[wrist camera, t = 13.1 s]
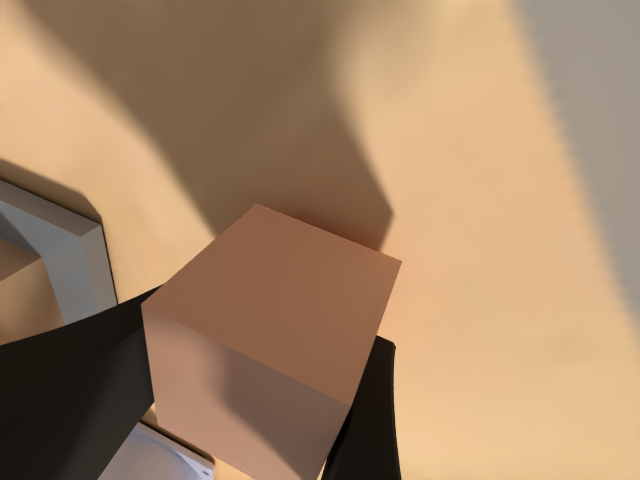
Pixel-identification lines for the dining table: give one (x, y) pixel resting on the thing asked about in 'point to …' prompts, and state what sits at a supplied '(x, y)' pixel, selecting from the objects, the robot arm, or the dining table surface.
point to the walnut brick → (25, 295)
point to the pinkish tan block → (266, 342)
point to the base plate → (60, 250)
